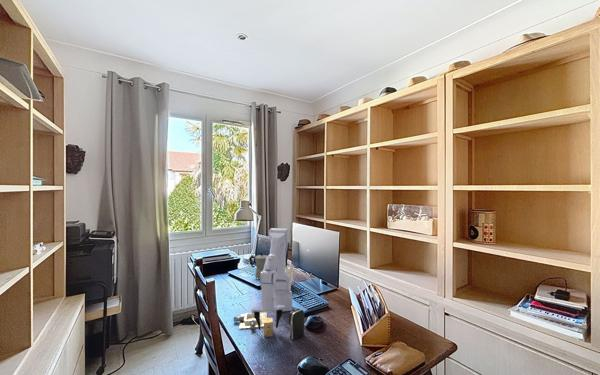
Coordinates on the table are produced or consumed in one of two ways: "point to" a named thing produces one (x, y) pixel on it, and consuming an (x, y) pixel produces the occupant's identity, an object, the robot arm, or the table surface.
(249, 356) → the table surface
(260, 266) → the coffeepot
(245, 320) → the cream square socket base
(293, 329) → the battery charger
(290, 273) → the ink cartridge box
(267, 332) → the coupling block
